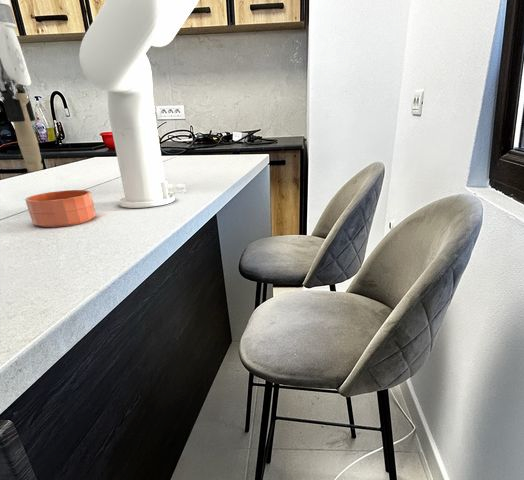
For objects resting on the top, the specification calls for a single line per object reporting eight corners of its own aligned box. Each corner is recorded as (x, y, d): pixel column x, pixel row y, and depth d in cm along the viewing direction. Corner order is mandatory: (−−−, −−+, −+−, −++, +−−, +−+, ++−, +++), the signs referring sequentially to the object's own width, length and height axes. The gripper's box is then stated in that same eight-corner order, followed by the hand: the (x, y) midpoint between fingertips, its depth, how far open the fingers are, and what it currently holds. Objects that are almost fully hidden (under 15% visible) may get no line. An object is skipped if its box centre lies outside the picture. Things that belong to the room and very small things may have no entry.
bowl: (100, 212, 93) (95, 188, 91) (90, 225, 82) (83, 198, 80) (43, 217, 92) (35, 192, 89) (24, 230, 81) (16, 203, 79)
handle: (48, 167, 102) (28, 94, 94) (45, 170, 96) (23, 92, 89) (26, 169, 101) (4, 95, 93) (22, 172, 95) (-2, 94, 88)
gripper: (-3, 9, 78) (28, 121, 87) (27, 26, 93) (51, 119, 102) (-48, 10, 77) (-11, 123, 86) (-10, 27, 92) (17, 121, 101)
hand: (22, 120), depth 94 cm, fingers closed on handle, 6 cm apart
